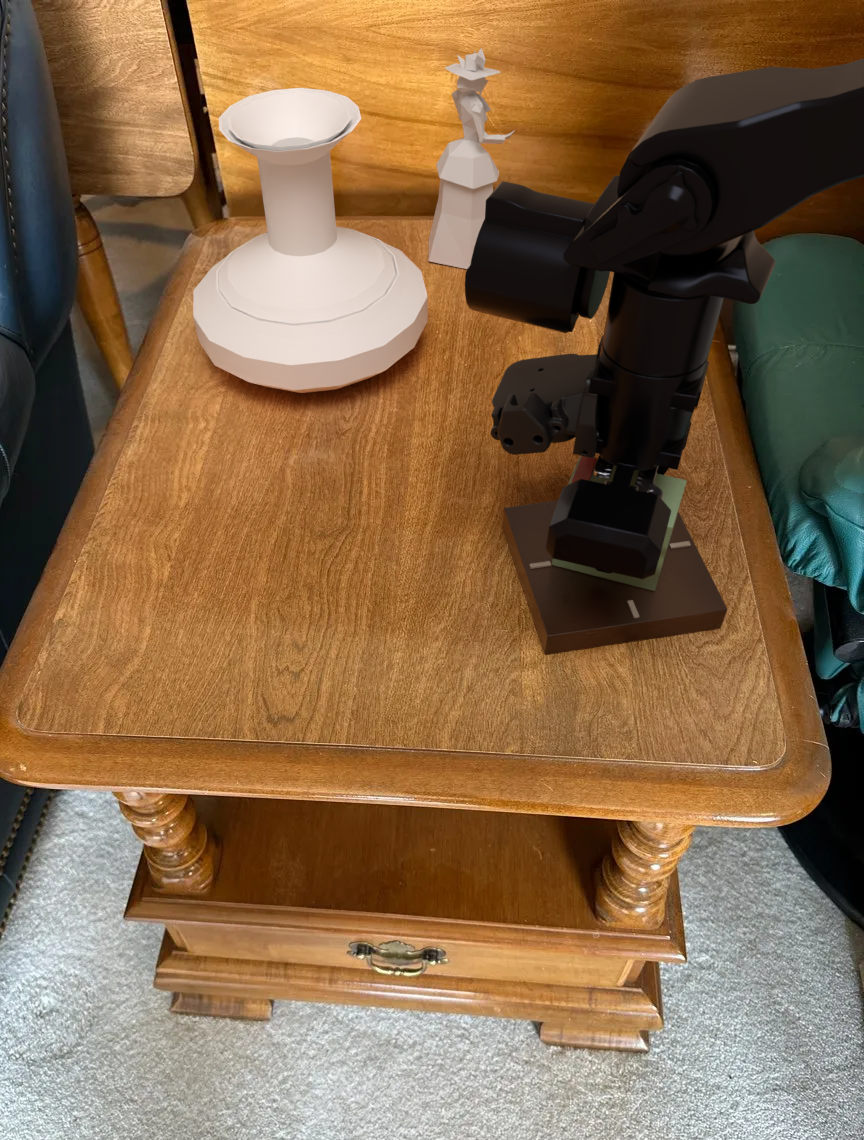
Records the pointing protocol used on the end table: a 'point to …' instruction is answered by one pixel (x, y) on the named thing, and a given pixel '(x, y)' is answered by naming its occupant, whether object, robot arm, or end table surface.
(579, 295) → the robot arm
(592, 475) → the box
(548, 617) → the plate
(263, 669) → the end table surface
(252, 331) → the white vase
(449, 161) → the figurine
